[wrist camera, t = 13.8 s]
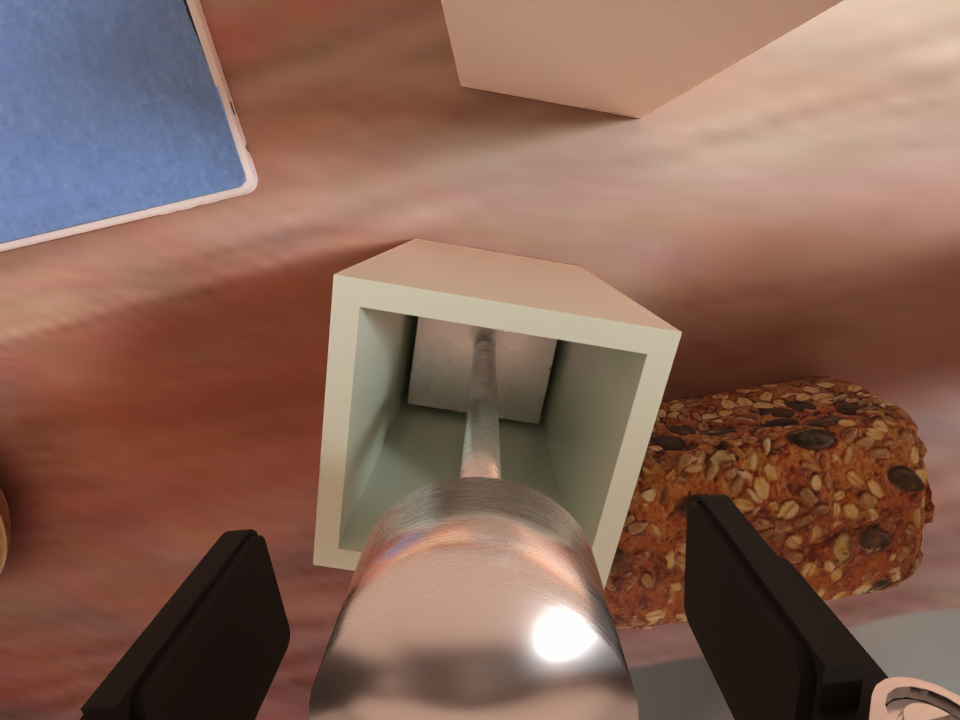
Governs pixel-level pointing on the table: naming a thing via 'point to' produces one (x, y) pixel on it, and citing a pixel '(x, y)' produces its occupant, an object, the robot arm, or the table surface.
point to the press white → (611, 46)
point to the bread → (777, 491)
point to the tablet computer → (111, 116)
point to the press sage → (440, 433)
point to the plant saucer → (4, 530)
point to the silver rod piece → (476, 571)
